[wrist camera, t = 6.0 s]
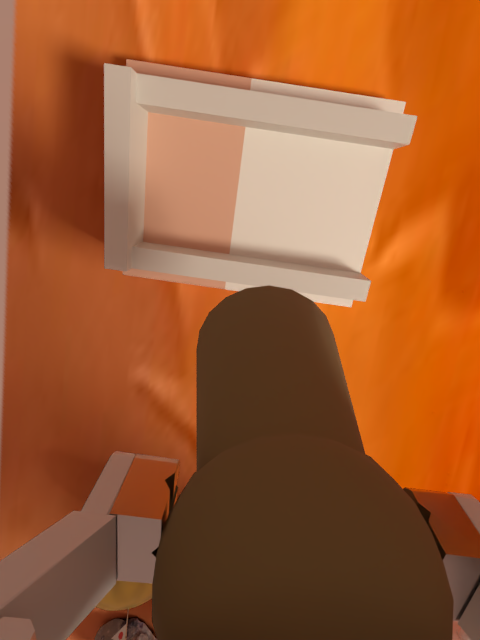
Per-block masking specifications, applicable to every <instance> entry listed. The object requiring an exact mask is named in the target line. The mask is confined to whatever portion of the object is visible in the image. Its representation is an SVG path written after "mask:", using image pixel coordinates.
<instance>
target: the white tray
mask: <svg viewBox="0 0 480 640" xmlns="http://www.w3.org/2000/svg"><path fill="white" fill-rule="evenodd" d="M405 104H406V102H402V101H396V100H389V99H383V98H376V97H370V96H363V95H357V94H350V93H344V92H337V91H331V90H324V89H318V88H311V87H305V86H298V85H292V84H285V83H279V82H272V81H266V80H259V79H253V78H246V77H240V76H233V75H227V74H220V73H214V72H207V71H201V70H194V69H188V68H181V67H175V66H168V65H162V64H155V63H149V62H142V61H136V60H129V59H126V66H120V65H113V64H107V63H104V268H106V269H113V270H120V271H123V275H129V276H136V277H143V278H150V279H157V280H164V281H171V282H178V283H185V284H192V285H199V286H206V287H213V288H220V289H227V290H234V291H241V290H243V289H246V288H252V287H260V286H268V285H270V286H276V287H281V288H287V289H292V290H294V291H296V292H298V293H299V294H301V295H303V296H305V297H307V298H309V299H310V300H312V301H313V302H318V303H325V304H332V305H339V306H346V307H351V306H352V303H353V300H357V301H364V302H365V301H366V298H367V294H368V291H369V287H370V283H371V281H370V280H369V279H368V278H366V277H365V276H364V275H362V274H361V269H362V265H363V261H364V258H365V254H366V250H367V246H368V243H369V239H370V235H371V231H372V228H373V224H374V220H375V216H376V213H377V209H378V205H379V201H380V198H381V194H382V190H383V186H384V183H385V179H386V175H387V171H388V168H389V164H390V160H391V156H392V153H393V149H396V148H399V147H403V146H406V145H409V144H410V141H411V137H412V134H413V130H414V126H415V123H416V119H417V116H413V115H407V114H403V111H404V108H405Z"/></svg>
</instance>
